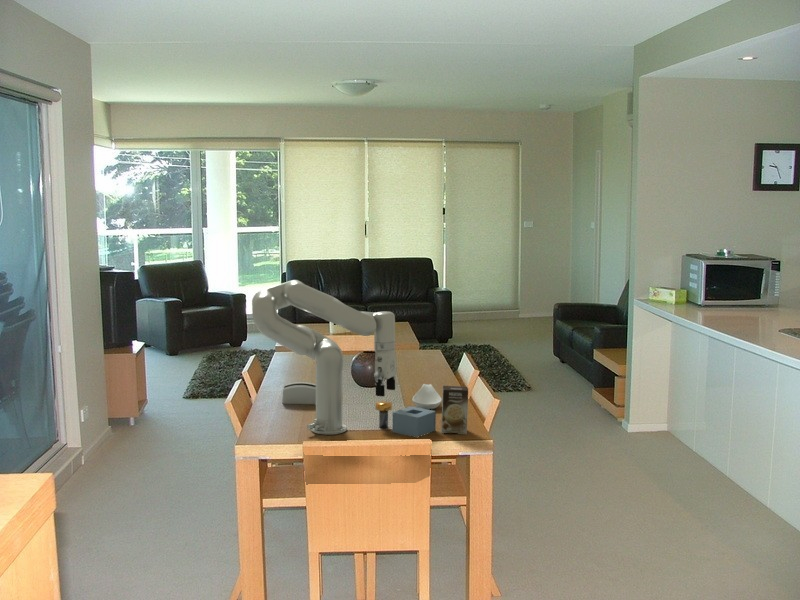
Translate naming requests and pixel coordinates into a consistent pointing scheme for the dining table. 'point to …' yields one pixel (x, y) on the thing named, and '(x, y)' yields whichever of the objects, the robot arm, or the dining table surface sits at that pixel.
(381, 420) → the pin
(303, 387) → the grey slotted block
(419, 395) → the spoon rest
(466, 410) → the coffee box
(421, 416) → the hitch block
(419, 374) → the dining table surface
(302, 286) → the robot arm
